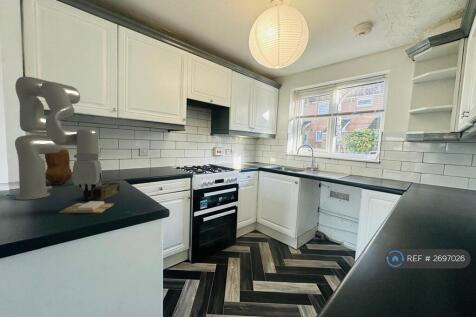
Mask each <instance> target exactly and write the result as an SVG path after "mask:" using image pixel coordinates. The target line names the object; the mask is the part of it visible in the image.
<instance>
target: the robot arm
mask: <svg viewBox="0 0 476 317" xmlns="http://www.w3.org/2000/svg"><path fill="white" fill-rule="evenodd" d="M14 87H15V88H14V89H15V94H16V95H17V99H18V101H19V127H20V129H21V131H22V132H26V133H34V135H32V134H29V135H27V134H26V135H21V136H18V137H16V138H15V141H14V146H15V149H16V150H15V151H16V154H17V160H18V161H17V162H18V180H19V185H18V186H19V194H17V195H15V197H14V198H15V200H17V201H18V200H19V201H21V200H23V201H24V200H25V201H27V200H36V199H41V198H46V197H49V196H51V192H50V191H49V190H51V189H52V188H53V186H52V185H47V183H46V182H47V181H46V180H47V179H46V174H45V173H46V161H45V159H43V157H41V156H40V155H45V154H54V153H58V152H59V151H60V150H61V147H62V146H75V147H76V154H74V155H73V157H74V159H76V160H74V163H73V166H72V176H71V181H72V183H73V185H74V186H76V187H79V188H80V189H81V190H82V191H83V200H85V201H90V200H89V199H91V198H92V197H93V189H94V188H95V187H96V186H100V185H102V184H103V183H102V181H103V171H102V166H101V161H100V160H99V134H98V131H97V130H94V129H83V128H81V129H80V128H69V127H63V126H62V122H61V120H62V119H66V118H70V117H71V116H73V115H74V113H75V108H74V106H73V105H74V104H78V103H79V102H80V100H81V94H80V92H79V91H78V90H79V89H77V88H76V87H74V86H71V85H67V84H63V83H59V82H55V81H48V80H45V79H43V78H39V77H37V78H36V77H34V76H33V77H32V76H19V77H18V78H17V79H16V82H15V86H14ZM40 98H43V99H44V101H45V103H46V104H47V106H48V109H49V111H50V113H48V114H47V115H46V114H45V107H44V104H43V102H42V101H41V100H40ZM35 134H46V135H35ZM86 199H87V200H86Z"/></svg>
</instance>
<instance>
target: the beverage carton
mask: <svg viewBox="0 0 476 317" xmlns="http://www.w3.org/2000/svg"><path fill="white" fill-rule="evenodd" d="M120 185H121V184H120V182H111V181H106V182H104V183H102V185H100V186H96V187H95V188H94V189H93V197H92V198H91V199H89V200H87V199H86V200H85V201H102V200H103V201H104V200H105V199H108V198H110V197H112V196H114V195H116V194H118V193H120Z"/></svg>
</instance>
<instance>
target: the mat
mask: <svg viewBox="0 0 476 317" xmlns="http://www.w3.org/2000/svg"><path fill="white" fill-rule="evenodd" d="M86 203H87V202H81V203H80V202H78V203H75V204H73V205H71V206H69V207H66V208H63V209H61V210H60V211H58V214H101V213H103V212H105V211H106V210H108V209H109V208H111V207H112V206H114V205H115V203H114V202H110V203H109V202H107V203H106V202H104V206H103V207H101V208H99V209H98V210H96V211H94V212H77V207H79V206H81V205H84V204H86Z"/></svg>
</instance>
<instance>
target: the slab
mask: <svg viewBox="0 0 476 317" xmlns="http://www.w3.org/2000/svg"><path fill="white" fill-rule="evenodd" d="M85 203H86V204H84V205H81V206H79V207H77V212H94V211H96V210H98V209H99V208H101V207H103V206H104V203H105V201H104V200H103V201H102V200H101V201H91V200H89V201H88V202H85Z"/></svg>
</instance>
